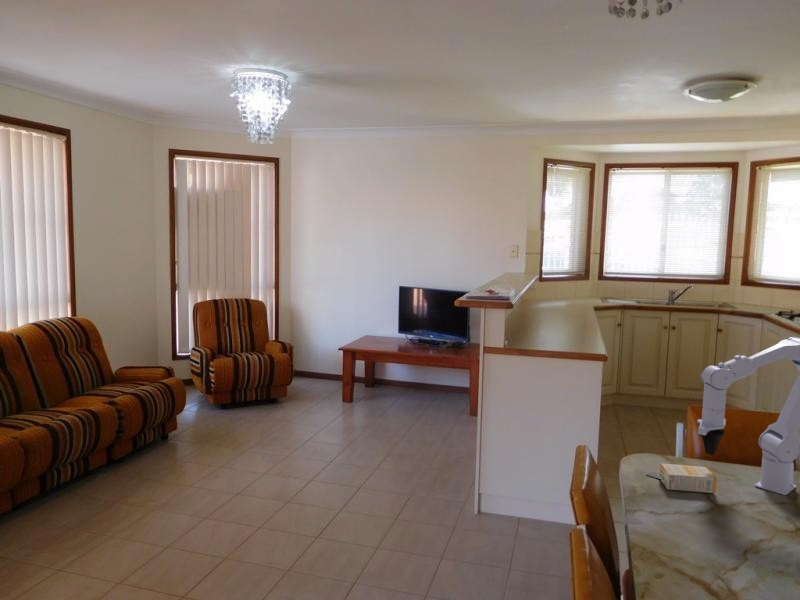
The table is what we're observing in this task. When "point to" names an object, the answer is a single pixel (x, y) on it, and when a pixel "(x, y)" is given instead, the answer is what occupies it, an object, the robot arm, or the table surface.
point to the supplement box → (687, 478)
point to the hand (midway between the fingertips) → (710, 453)
